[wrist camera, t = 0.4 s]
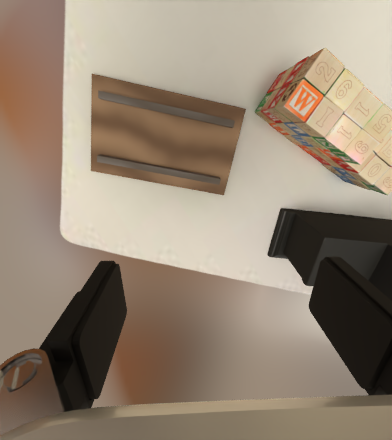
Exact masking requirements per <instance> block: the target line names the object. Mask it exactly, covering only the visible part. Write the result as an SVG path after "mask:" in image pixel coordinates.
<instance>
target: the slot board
mask: <svg viewBox="0 0 392 440" xmlns="http://www.w3.org/2000/svg"><path fill="white" fill-rule="evenodd" d="M245 110H246V109H243V108H239V107H235V106H230V105H226V104H222V103H217V102H213V101H209V100H204V99H200V98H195V97H191V96H187V95H182V94H178V93H174V92H169V91H165V90H161V89H156V88H152V87H148V86H143V85H139V84H134V83H130V82H126V81H121V80H117V79H113V78H108V77H104V76H100V75H95V74H92V115H91V171H95V172H100V173H106V174H111V175H117V176H122V177H128V178H133V179H139V180H144V181H149V182H155V183H160V184H166V185H171V186H177V187H182V188H188V189H193V190H198V191H204V192H209V193H215V194H220V195H224V192H225V188H226V184H227V181H228V177H229V173H230V169H231V165H232V161H233V157H234V153H235V149H236V145H237V141H238V138H239V134H240V130H241V126H242V122H243V118H244V114H245Z"/></svg>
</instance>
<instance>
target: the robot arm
mask: <svg viewBox="0 0 392 440" xmlns="http://www.w3.org/2000/svg"><path fill="white" fill-rule="evenodd" d="M309 309H310V312H311V313H312V315H313V316H314V318H315V319H316V321H317V322H318V324H319V325H320V327H321V328H322V330H323V331H324V333H325V334H326V336H327V337H328V339H329V340H330V342H331V343H332V345H333V346H334V348H335V350H336V351H337V352H338V354H339V355H340V357H341V358H342V360H343V361H344V363H345V365H346V366H347V367H348V369H349V371H350V372H351V374H352V375H353V377H354V378H355V380H356V381H357V383H358V384H359V385H360V386H361V387H362V388H363V389H365V390H366V391H367V393H368V394H369V395H368V396H337V397H309V398H281V399H255V400H231V401H207V402H185V403H162V404H142V405H127V406H111V407H97V408H91V407H92V404H93V401H94V399H98V398H99V396H100V393H101V391H102V388H103V385H104V382H105V379H106V376H107V372H108V369H109V366H110V364H111V360H112V357H113V354H114V351H115V348H116V345H117V342H118V339H119V336H120V333H121V330H122V327H123V324H124V321H125V318H126V313H127V308H126V302H125V296H124V290H123V284H122V279H121V272H120V267H119V264H115V262H114V261H101V262H99V264H98V266H97V267H96V268H95V270H94V271H93V273H92V275H91V276H90V278H89V279H88V281H87V282H86V284H85V285H84V287H83V288H82V290H81V291H80V292H77V293H76V295H75V296H74V298H73V299H72V300H71V302H70V303H69V305H68V306H67V308H66V309H65V311H64V312H63V314H62V315H61V317H60V318H59V320H58V321H57V323H56V324H55V325H54V327H53V328H52V330H51V331H50V333H49V334H48V336H47V337H46V339H45V340H44V342H43V343H42V345H41V346H40V348H39V349H29V350H25V351H22V352H20V353H17V354H15V355H14V356H12V357H10V358H9V359H7V360H6V361H5V362H4V363H2V364H1V365H0V440H392V301H391V300H390V299H389V298H388V297H387V296H386V295H384V294H383V293H382V292H381V291H380V290H379V289H377V288H376V287H375V286H374V285H373V284H372V283H370V282H369V281H368V280H367V279H366V278H365V277H363V276H362V275H361V274H360V273H359V272H357V271H356V270H355V269H354V268H353V267H352V266H350V265H349V264H348V263H347V262H346V261H345V260H343V259H342V258H341V257H338V256H336V257H325V258H324V259H323V260H321V261H320V264H319V268H318V272H317V275H316V279H315V283H314V287H313V290H312V294H311V298H310V302H309Z"/></svg>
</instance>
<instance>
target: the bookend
mask: <svg viewBox="0 0 392 440" xmlns="http://www.w3.org/2000/svg"><path fill="white" fill-rule="evenodd" d="M268 256H269V257H275V258H286V259H289V261H290V262H291V264H292V265H293V266H294V268H295V269H296V271H297V272H298V273H299V275H300V276H301V277H302V281H303V283H304V284H305V285H306V286H314V283H315V279H316V275H317V272H318V268H319V264H320V261H321V260H323V259H324V258H325V257H336V256H338V257H341V258H342V259H343V260H345V261H346V262H347V263H348V264H349V265H350V266H352V267H353V268H354V269H355V270H356V271H357V272H359V273H360V274H361V275H362V276H363V277H365V278H366V279H367V280H368V281H369V282H370V283H372V284H373V285H374V286H375V287H376V288H377V289H379V290H380V291H381V292H382V293H383V294H384V295H386V296H387V297H388V298H389V299H390V300H391V301H392V220H385V219H375V218H367V217H358V216H351V215H349V216H348V215H342V214H341V215H339V214H333V213H321V212H312V211H302V210H292V209H281V211H280V214H279V217H278V220H277V224H276V227H275V231H274V234H273V238H272V240H271V244H270V248H269V251H268Z"/></svg>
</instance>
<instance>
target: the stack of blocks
mask: <svg viewBox="0 0 392 440" xmlns="http://www.w3.org/2000/svg"><path fill="white" fill-rule="evenodd" d="M255 113H256V114H257V115H259V116H260V117H261V118H263V119H264V120H265V121H266V122H268V123H269V125H271V126H272V127H273V128H275V129H276V130H277V131H279V132H280V133H281V134H283V135H284V136H285V137H286V138H287V139H289V140H290V141H291V142H293V143H294V144H296V145H298V146H299V147H301V148H302V149H303V150H305V151H306V152H307V153H308V154H310V155H312V156H313V157H314V158H316V159H317V160H318V161H320V162H321V163H322V165H324V166H325V167H326V168H327V169H329V170H330V171H331V172H333V173H334V174H336V175H337V176H338V177H340V178H341V179H342V180H344V181H345V182H348V183H351V184H354V185H357V186H359V187H362V188H365V189H368V190H374V191H376V192H380V193H382V194H385V195H388V194H389V193H390V192H391V191H392V130H391V129H392V110H391V109H390V108H389V107H388V106H386V105H385V104H383V103H382V102H381V101H380V100H379V99H378V98H377V97H375V96H374V95H373V94H372V93H371V92H370V91H369V90H368V89H366V88H365V87H364V85H363V84H362V83H361V82H360V81H359V80H358V79H357V78H356V77H355V76H354V75H353V74H352V73H351V72H350V71H348V70H347V69H346V68H345V67H344V65H343V64H342V63H341V62H340V61H339V60H338V59H337V58H336V57H335V56H334V55H333V54H331V53H330V52H329V51H328V50H327V49H326V48H324V49H322V50H320V51H318V52H317V53H315V54H314V55H312V56H311V57H309V56H308V57H306V58H304V59H303V60H301V61H300V62H298V63H297V64H296V65H294V66H293V67H291V68H289V69H288V70H286V71H284V72H282V73H281V74H279V75H278V77H277V79H276V80H275V82H274V83H273V85H272V86H271V88H270V89H269V91H268V92H267V94H266V96H265V97H264V99H263V100H262V102H261V103H260V105H259V106H258V108H257V109H256V111H255Z"/></svg>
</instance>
